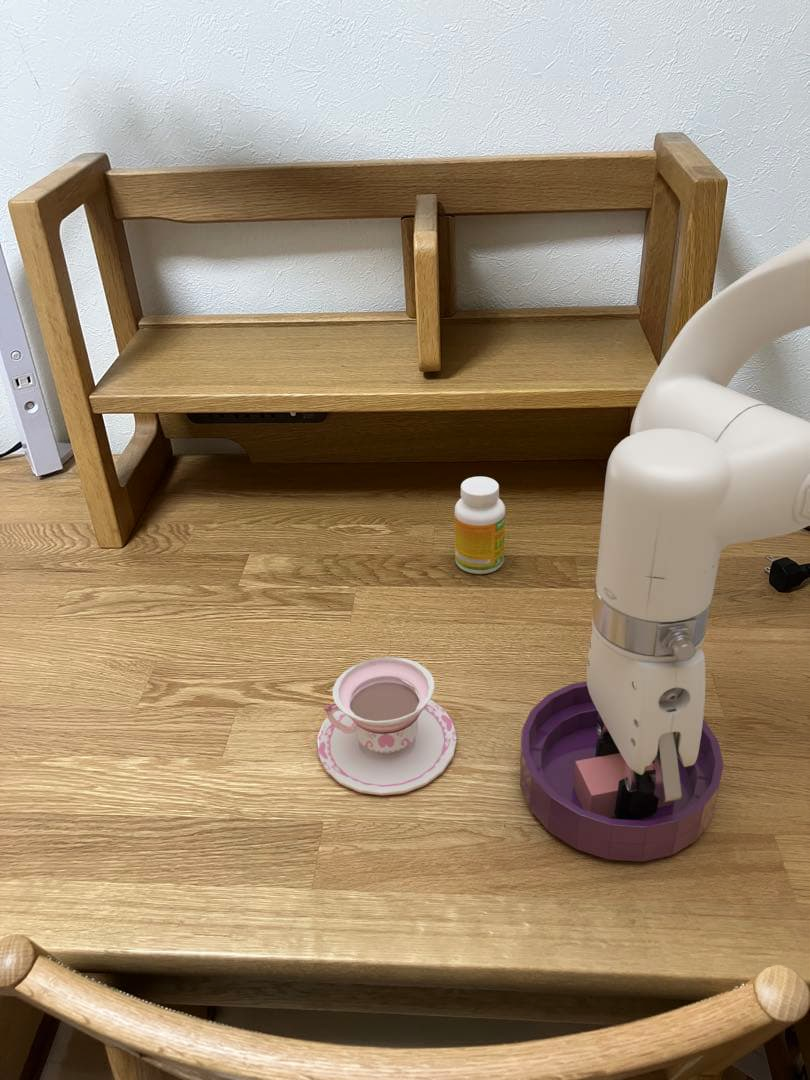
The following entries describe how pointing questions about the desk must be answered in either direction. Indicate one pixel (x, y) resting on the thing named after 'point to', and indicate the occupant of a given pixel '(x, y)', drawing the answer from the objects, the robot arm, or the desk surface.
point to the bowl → (570, 735)
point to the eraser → (602, 783)
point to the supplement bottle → (479, 526)
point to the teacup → (385, 728)
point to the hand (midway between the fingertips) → (624, 791)
